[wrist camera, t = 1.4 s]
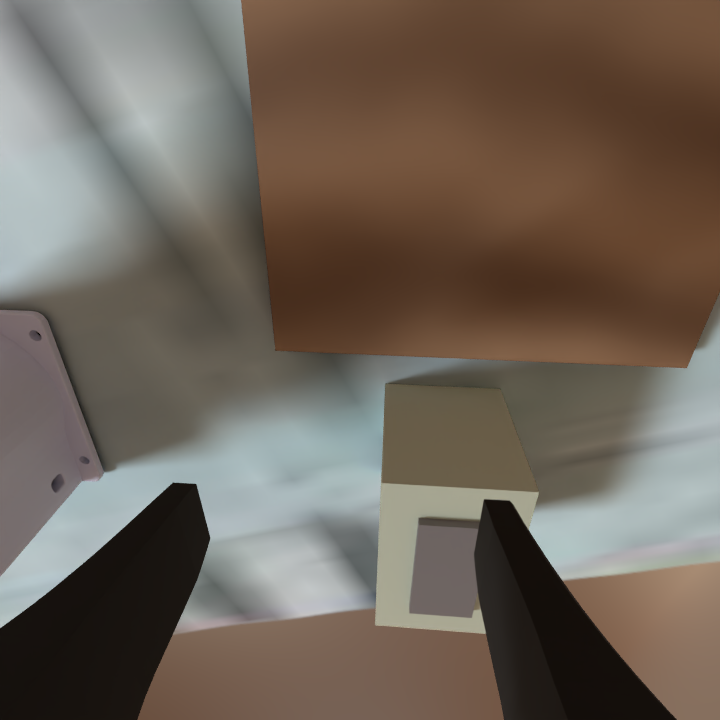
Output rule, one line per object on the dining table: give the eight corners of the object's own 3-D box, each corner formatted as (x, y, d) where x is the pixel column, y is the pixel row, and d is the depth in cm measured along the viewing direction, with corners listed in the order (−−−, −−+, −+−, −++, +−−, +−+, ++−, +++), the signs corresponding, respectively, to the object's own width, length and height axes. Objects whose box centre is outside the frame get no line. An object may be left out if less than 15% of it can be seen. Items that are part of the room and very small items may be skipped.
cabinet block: (475, 516, 23) (499, 642, 18) (379, 510, 23) (374, 632, 18) (500, 388, 19) (541, 499, 14) (385, 383, 19) (381, 490, 14)
